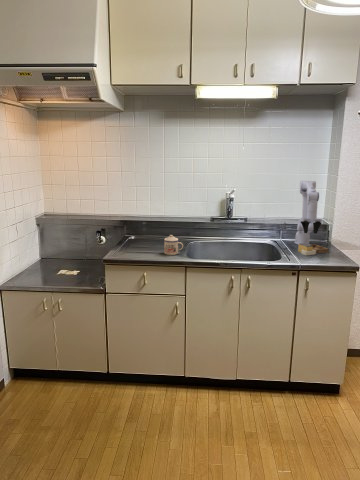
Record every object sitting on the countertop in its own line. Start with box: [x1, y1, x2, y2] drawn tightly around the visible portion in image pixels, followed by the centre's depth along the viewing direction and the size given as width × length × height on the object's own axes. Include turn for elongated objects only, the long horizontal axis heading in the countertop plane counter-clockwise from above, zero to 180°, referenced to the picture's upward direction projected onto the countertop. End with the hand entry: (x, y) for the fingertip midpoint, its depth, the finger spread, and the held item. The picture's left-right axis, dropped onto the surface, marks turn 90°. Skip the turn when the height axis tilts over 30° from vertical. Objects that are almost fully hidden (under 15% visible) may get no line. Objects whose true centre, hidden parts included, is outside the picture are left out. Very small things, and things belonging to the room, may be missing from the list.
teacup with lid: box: [163, 234, 184, 256], centre depth 227 cm, size 12×9×12 cm
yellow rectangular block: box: [297, 243, 313, 253], centre depth 233 cm, size 9×4×5 cm, turn 21°
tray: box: [311, 243, 330, 254], centre depth 239 cm, size 13×9×2 cm
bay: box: [300, 249, 317, 256], centre depth 231 cm, size 4×8×2 cm, turn 111°
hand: (310, 233), depth 229 cm, fingers open, 7 cm apart
